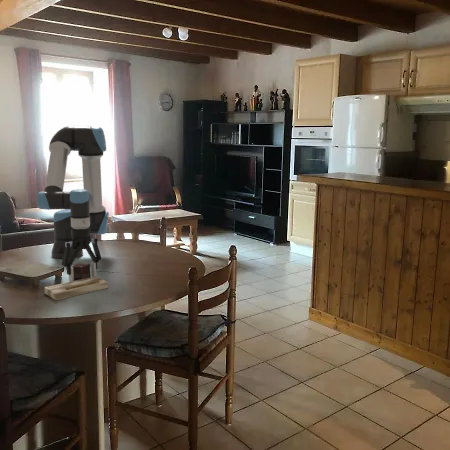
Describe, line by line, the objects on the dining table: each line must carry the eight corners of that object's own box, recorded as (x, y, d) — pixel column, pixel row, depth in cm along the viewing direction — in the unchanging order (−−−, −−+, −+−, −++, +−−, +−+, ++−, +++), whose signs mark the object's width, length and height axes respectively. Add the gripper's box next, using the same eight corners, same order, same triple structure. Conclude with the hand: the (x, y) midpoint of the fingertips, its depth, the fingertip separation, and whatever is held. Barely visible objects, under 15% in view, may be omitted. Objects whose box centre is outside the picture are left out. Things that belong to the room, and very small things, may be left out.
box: (91, 280, 202) (90, 263, 201) (81, 284, 197) (81, 267, 196) (79, 278, 205) (79, 261, 203) (70, 282, 199) (69, 265, 198)
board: (44, 293, 185) (44, 285, 185) (95, 281, 200) (95, 274, 200) (56, 300, 178) (55, 291, 178) (108, 287, 193) (108, 280, 193)
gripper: (59, 232, 185) (61, 287, 190) (109, 225, 201) (110, 276, 205) (50, 229, 191) (53, 282, 195) (100, 222, 206) (101, 272, 210)
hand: (82, 279), depth 200 cm, fingers open, 9 cm apart
